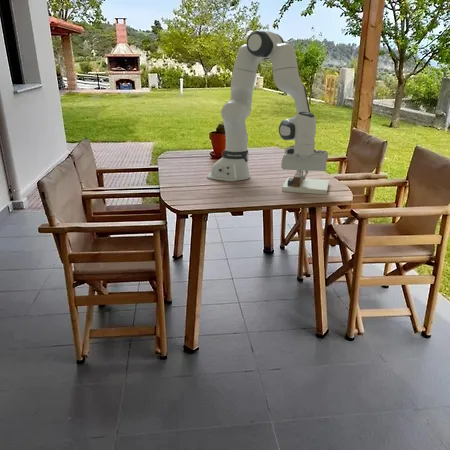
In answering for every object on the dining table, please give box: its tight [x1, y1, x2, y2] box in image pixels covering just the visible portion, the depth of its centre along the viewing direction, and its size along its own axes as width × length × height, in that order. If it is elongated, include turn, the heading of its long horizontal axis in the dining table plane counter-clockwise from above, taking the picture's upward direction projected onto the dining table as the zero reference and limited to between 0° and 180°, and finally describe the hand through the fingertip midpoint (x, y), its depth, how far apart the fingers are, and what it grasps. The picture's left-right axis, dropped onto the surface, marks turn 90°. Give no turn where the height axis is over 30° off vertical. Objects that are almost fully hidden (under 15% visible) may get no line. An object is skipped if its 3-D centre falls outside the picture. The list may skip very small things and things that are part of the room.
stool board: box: [281, 176, 330, 195], centre depth 191 cm, size 20×18×4 cm
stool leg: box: [292, 170, 304, 187], centre depth 192 cm, size 17×3×4 cm, turn 164°
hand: (303, 179), depth 187 cm, fingers closed
